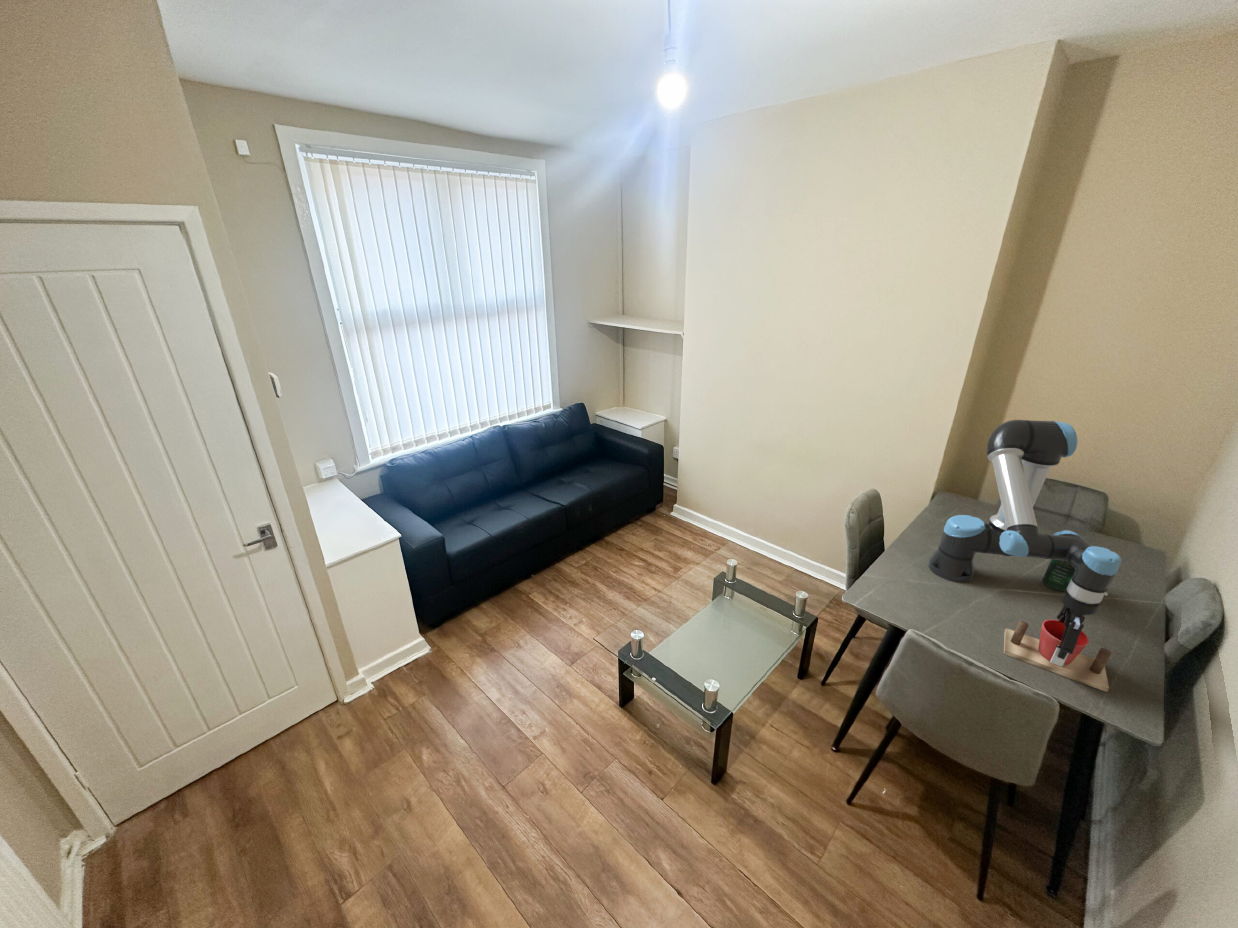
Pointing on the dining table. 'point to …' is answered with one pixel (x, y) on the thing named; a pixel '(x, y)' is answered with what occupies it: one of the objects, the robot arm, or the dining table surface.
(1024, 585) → the dining table surface
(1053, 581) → the coffee jar
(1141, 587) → the dining table surface
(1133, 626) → the dining table surface
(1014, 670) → the dining table surface
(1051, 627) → the flower pot
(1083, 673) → the rack
